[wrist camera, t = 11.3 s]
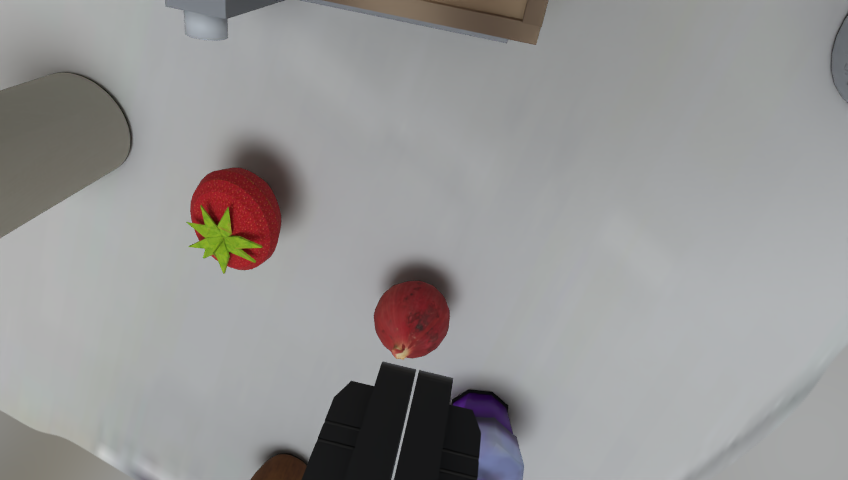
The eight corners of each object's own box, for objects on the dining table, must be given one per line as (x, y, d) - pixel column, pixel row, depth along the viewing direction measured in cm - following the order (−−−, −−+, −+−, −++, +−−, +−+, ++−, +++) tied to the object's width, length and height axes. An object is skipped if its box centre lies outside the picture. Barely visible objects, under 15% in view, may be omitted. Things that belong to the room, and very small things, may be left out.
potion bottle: (419, 386, 51) (394, 502, 41) (508, 368, 49) (504, 487, 38) (454, 448, 55) (438, 569, 44) (538, 434, 52) (542, 560, 42)
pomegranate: (419, 249, 44) (400, 309, 37) (468, 295, 45) (459, 361, 38) (372, 287, 46) (346, 350, 40) (419, 329, 48) (403, 397, 41)
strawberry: (289, 140, 41) (228, 197, 32) (312, 229, 44) (263, 301, 36) (218, 146, 42) (140, 202, 33) (245, 232, 46) (182, 303, 37)
